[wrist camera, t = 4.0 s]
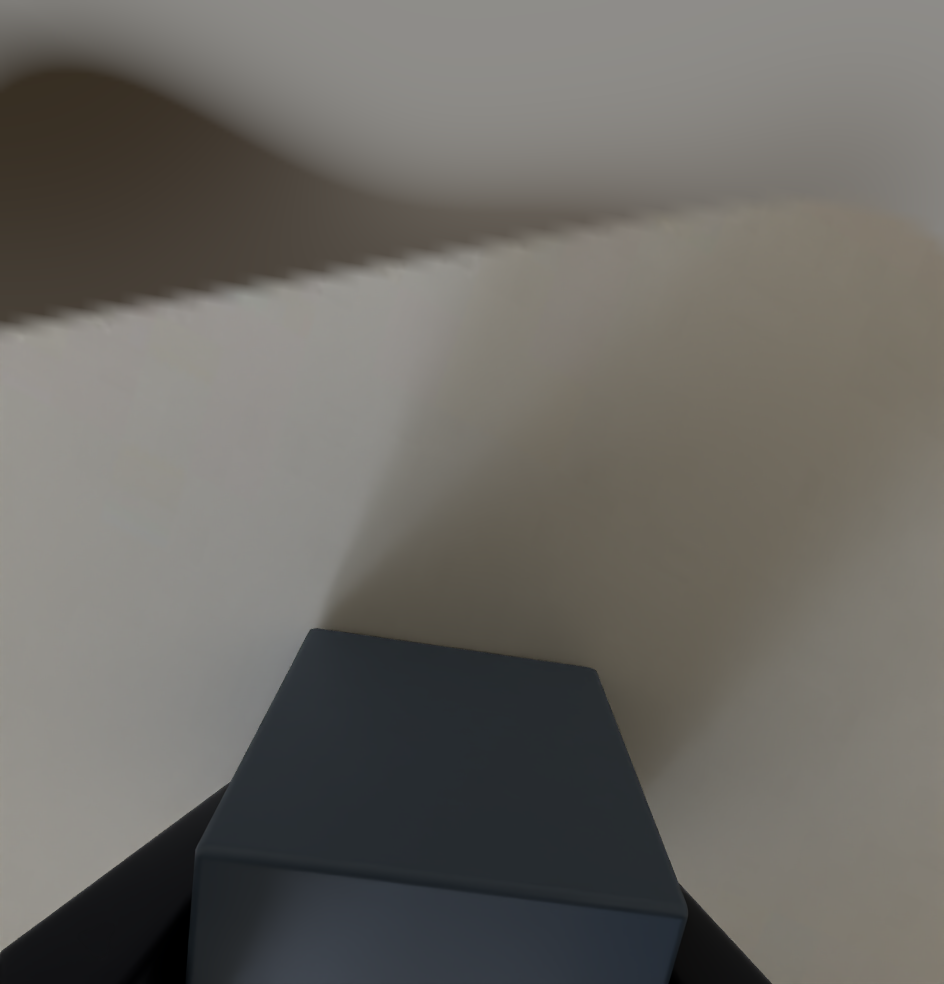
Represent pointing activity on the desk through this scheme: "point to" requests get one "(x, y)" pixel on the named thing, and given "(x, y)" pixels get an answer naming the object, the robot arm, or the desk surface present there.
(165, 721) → the desk surface
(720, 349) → the desk surface
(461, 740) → the block
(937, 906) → the desk surface
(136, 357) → the desk surface
